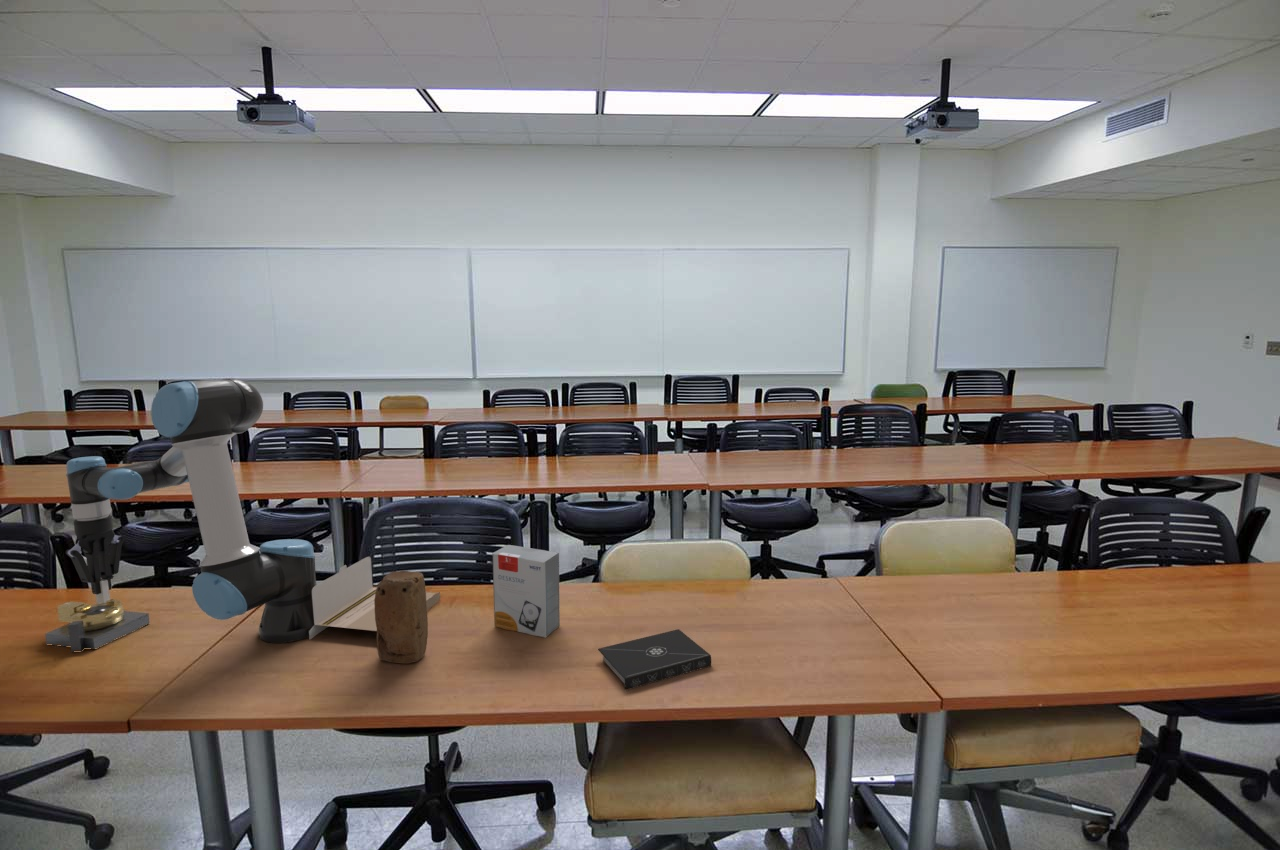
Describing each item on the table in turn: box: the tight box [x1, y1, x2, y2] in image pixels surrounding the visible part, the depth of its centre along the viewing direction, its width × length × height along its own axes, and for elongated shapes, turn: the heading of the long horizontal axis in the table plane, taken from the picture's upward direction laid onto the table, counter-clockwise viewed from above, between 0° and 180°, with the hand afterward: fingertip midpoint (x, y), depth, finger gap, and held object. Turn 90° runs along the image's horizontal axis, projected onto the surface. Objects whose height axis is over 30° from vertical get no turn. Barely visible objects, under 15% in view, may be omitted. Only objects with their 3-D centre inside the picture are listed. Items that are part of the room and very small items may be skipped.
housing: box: [44, 610, 150, 652], centre depth 157 cm, size 14×16×7 cm
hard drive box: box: [492, 544, 561, 638], centre depth 161 cm, size 16×8×20 cm, turn 68°
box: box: [308, 556, 441, 640], centre depth 167 cm, size 35×20×14 cm, turn 168°
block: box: [374, 570, 429, 664], centre depth 146 cm, size 11×8×20 cm
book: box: [597, 628, 712, 691], centre depth 145 cm, size 22×15×3 cm
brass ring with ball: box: [56, 598, 125, 631], centre depth 158 cm, size 15×10×4 cm, turn 80°
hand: (103, 603), depth 166 cm, fingers closed
